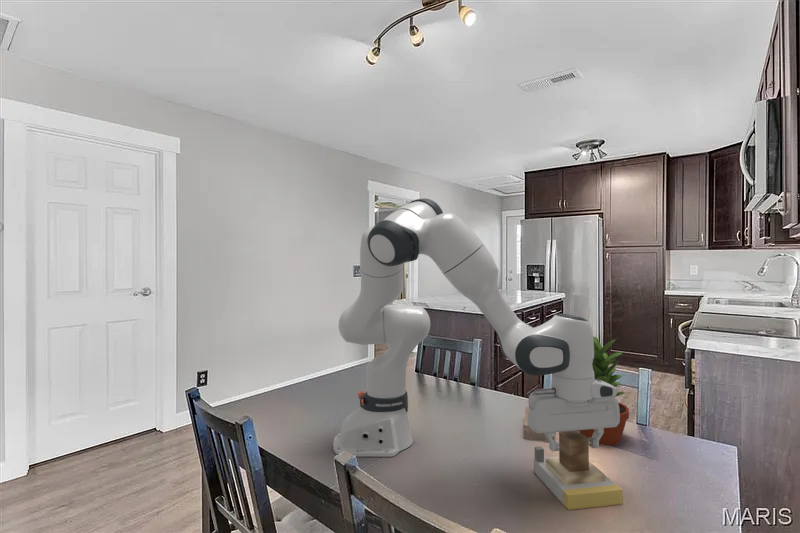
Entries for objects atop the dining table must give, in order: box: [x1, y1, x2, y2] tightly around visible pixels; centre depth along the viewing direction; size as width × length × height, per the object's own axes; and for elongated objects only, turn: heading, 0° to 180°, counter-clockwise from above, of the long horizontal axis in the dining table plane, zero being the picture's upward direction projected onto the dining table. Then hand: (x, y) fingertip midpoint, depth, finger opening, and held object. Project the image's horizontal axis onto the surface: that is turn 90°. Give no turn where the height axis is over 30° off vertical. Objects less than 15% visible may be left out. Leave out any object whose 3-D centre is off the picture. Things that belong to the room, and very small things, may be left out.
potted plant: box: [579, 335, 630, 446], centre depth 121 cm, size 15×15×30 cm
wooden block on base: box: [546, 430, 606, 485], centre depth 96 cm, size 9×9×8 cm
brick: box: [523, 405, 555, 443], centre depth 127 cm, size 17×8×5 cm, turn 161°
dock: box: [533, 446, 624, 511], centre depth 96 cm, size 12×16×6 cm
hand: (574, 448), depth 96 cm, fingers open, 8 cm apart
